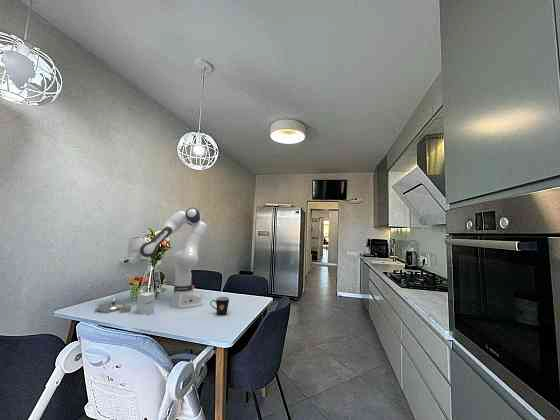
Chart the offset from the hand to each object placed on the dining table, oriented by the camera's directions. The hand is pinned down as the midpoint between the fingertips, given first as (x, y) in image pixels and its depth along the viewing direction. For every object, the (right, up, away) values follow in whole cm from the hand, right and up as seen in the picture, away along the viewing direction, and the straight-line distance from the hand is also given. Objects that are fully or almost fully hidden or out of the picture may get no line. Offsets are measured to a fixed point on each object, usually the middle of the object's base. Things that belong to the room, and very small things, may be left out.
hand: (131, 279), depth 169 cm
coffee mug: (+67, -20, -11) cm, 70 cm away
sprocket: (-4, -15, -15) cm, 22 cm away
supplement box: (+19, -18, -17) cm, 31 cm away
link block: (+8, -17, -19) cm, 26 cm away
